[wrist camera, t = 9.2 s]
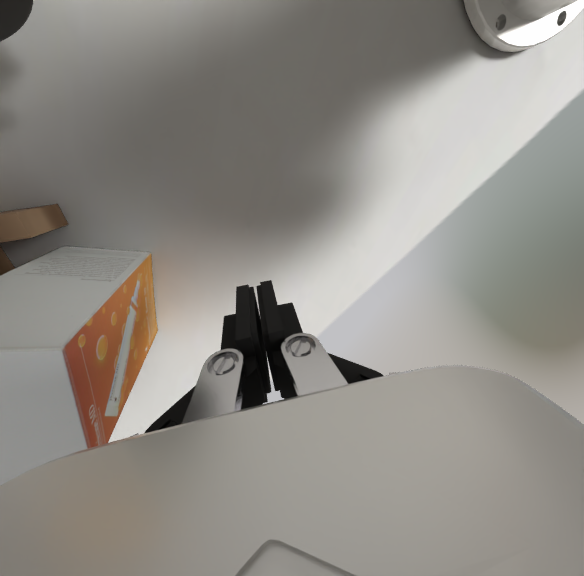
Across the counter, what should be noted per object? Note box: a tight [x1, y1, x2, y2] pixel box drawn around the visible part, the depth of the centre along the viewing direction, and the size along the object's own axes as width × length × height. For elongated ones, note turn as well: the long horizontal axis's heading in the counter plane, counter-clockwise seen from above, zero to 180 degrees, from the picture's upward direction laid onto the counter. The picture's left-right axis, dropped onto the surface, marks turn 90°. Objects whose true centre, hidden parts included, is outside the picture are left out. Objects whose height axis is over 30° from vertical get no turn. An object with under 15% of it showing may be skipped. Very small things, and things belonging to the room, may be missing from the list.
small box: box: [0, 246, 158, 485], centre depth 16 cm, size 8×6×13 cm
